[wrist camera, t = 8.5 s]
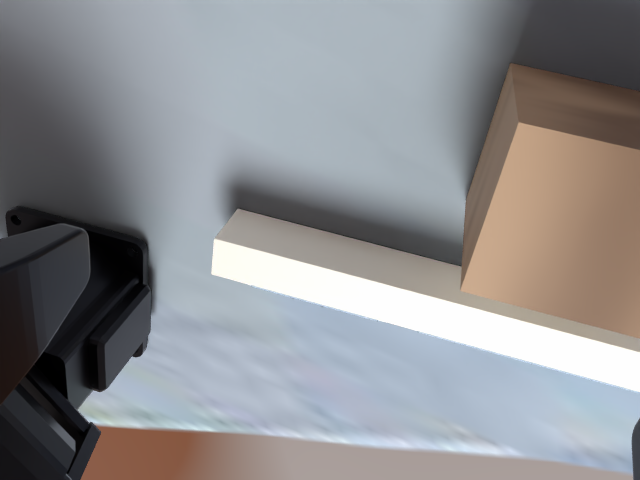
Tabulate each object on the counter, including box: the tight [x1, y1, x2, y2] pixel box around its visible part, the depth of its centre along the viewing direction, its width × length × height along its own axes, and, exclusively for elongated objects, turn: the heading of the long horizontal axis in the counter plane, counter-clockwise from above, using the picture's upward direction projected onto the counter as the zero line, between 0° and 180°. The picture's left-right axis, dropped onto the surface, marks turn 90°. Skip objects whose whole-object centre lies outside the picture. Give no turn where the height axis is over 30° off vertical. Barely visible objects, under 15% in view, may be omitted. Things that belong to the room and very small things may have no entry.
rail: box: [212, 209, 640, 393], centre depth 22 cm, size 24×2×2 cm, turn 81°
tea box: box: [460, 63, 640, 339], centre depth 18 cm, size 7×5×6 cm
